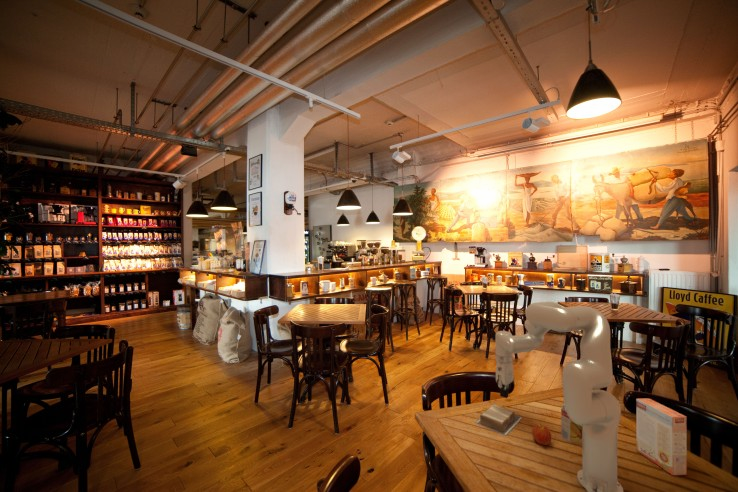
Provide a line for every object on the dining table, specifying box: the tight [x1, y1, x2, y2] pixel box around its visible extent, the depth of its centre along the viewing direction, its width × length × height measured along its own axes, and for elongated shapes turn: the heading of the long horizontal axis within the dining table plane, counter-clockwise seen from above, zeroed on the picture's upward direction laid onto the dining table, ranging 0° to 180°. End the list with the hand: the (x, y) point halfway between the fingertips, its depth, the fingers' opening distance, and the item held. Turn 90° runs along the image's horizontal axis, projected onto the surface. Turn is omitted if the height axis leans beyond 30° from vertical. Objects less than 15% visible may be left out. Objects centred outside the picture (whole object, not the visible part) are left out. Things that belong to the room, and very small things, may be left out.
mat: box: [475, 414, 524, 437], centre depth 144 cm, size 20×14×1 cm
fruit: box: [531, 423, 552, 446], centre depth 128 cm, size 7×7×8 cm
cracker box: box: [635, 397, 688, 476], centre depth 117 cm, size 14×6×21 cm, turn 4°
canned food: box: [560, 404, 583, 445], centre depth 132 cm, size 8×8×12 cm
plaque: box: [479, 404, 516, 432], centre depth 143 cm, size 4×10×14 cm
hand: (504, 396), depth 148 cm, fingers closed
